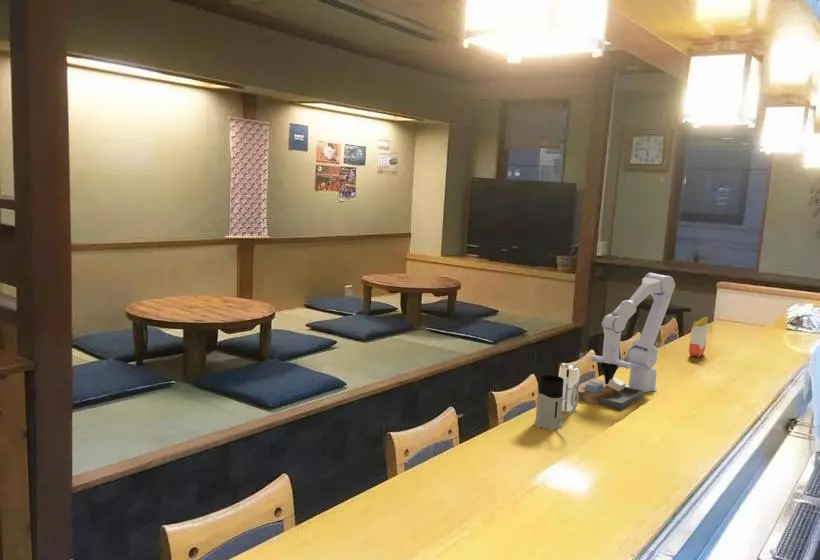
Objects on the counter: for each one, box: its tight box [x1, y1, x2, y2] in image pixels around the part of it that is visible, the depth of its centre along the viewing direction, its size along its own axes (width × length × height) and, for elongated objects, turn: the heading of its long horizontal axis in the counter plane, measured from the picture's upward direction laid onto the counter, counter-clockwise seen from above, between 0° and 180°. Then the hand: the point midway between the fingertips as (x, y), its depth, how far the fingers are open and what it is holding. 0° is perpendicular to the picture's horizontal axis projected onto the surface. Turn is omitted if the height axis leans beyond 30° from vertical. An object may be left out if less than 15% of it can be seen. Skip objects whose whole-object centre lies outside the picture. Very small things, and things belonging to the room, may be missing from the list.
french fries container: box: [688, 316, 709, 358], centre depth 314 cm, size 5×11×18 cm, turn 142°
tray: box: [599, 387, 644, 411], centre depth 243 cm, size 8×20×2 cm, turn 141°
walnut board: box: [576, 377, 622, 406], centre depth 249 cm, size 12×20×3 cm, turn 141°
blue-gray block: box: [585, 382, 603, 394], centre depth 243 cm, size 4×4×2 cm
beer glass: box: [558, 363, 581, 414], centre depth 230 cm, size 7×7×15 cm
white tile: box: [608, 376, 627, 392], centre depth 248 cm, size 4×4×2 cm
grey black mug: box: [533, 374, 579, 430], centre depth 213 cm, size 9×14×15 cm, turn 44°
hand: (608, 383), depth 251 cm, fingers closed
